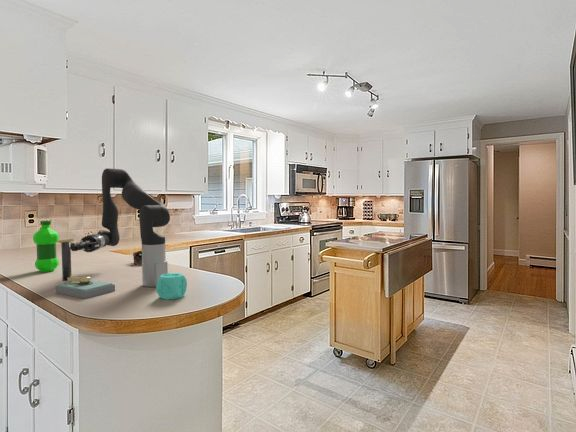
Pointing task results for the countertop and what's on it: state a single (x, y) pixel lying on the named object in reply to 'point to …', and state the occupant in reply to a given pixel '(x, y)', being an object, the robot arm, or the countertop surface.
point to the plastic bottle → (46, 247)
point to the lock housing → (85, 289)
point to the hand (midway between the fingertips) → (73, 248)
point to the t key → (69, 263)
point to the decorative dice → (171, 286)
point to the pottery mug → (137, 257)
